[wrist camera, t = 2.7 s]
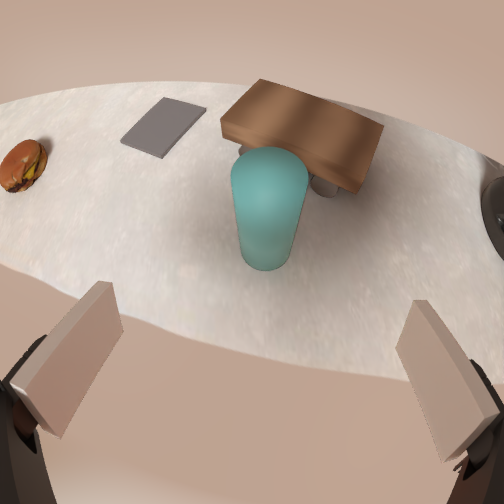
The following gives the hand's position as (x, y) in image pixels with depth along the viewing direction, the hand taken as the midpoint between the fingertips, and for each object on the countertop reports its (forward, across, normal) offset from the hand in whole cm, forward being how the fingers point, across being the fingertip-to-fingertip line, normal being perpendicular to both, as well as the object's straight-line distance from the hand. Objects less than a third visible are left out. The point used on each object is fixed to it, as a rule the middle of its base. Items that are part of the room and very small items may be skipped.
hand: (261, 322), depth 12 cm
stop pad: (+30, -15, +8) cm, 35 cm away
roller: (+18, 0, -4) cm, 18 cm away
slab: (+26, +4, +5) cm, 27 cm away
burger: (+26, -39, +4) cm, 47 cm away
